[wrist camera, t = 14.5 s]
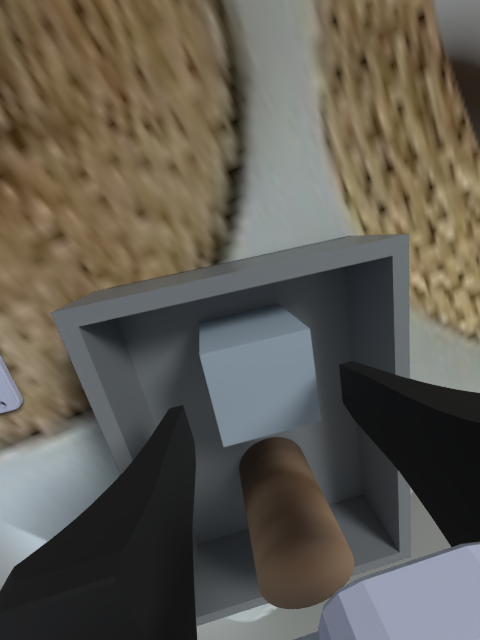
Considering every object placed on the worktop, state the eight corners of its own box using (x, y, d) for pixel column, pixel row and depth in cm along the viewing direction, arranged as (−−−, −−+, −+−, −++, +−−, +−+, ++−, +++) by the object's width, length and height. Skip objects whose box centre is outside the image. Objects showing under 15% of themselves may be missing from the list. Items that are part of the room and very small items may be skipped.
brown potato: (244, 498, 21) (265, 619, 14) (233, 446, 19) (251, 554, 13) (306, 482, 21) (355, 592, 15) (300, 430, 20) (352, 526, 13)
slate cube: (217, 392, 18) (223, 447, 13) (199, 321, 16) (199, 355, 12) (289, 374, 18) (321, 421, 14) (278, 304, 17) (309, 328, 12)
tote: (189, 545, 22) (187, 629, 17) (96, 291, 16) (50, 312, 11) (367, 492, 23) (410, 557, 19) (349, 236, 17) (408, 234, 12)
